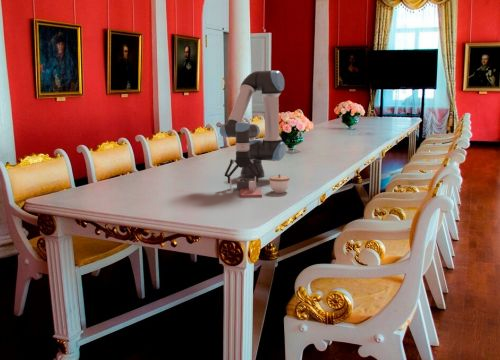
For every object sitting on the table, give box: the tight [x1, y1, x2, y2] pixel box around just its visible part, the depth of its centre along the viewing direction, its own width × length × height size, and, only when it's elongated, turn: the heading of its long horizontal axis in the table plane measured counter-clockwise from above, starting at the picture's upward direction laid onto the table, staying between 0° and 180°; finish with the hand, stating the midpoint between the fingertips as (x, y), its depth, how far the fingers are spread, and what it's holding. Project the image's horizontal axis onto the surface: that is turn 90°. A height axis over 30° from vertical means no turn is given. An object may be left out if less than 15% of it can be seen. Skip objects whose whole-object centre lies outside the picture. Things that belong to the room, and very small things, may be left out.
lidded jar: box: [269, 173, 291, 194], centre depth 282 cm, size 11×11×9 cm
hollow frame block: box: [236, 178, 251, 191], centre depth 291 cm, size 8×7×5 cm
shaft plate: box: [240, 180, 263, 198], centre depth 277 cm, size 16×11×7 cm
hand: (243, 188), depth 291 cm, fingers open, 13 cm apart
